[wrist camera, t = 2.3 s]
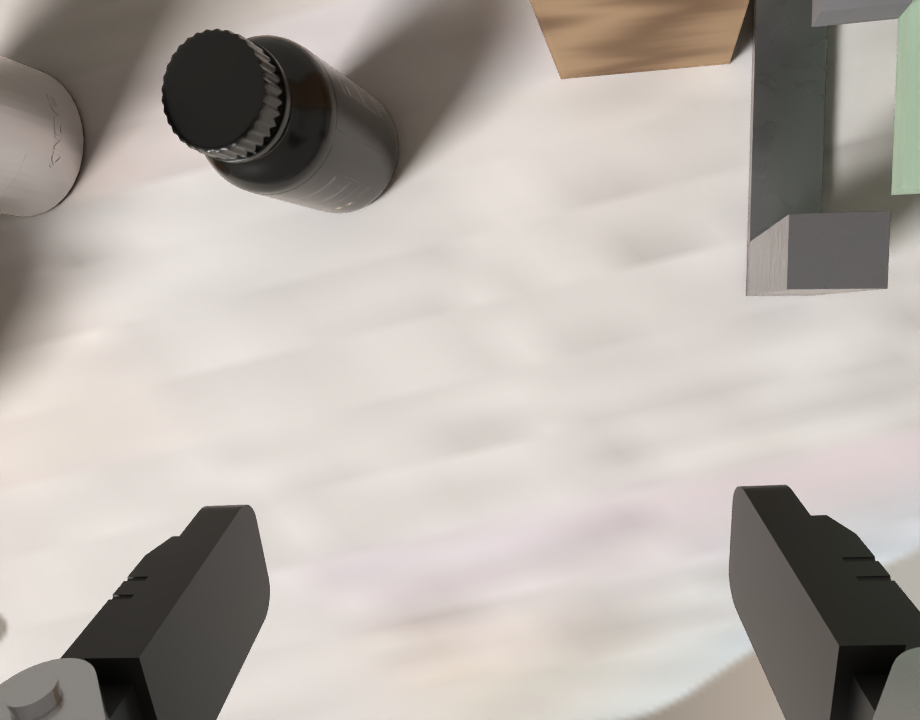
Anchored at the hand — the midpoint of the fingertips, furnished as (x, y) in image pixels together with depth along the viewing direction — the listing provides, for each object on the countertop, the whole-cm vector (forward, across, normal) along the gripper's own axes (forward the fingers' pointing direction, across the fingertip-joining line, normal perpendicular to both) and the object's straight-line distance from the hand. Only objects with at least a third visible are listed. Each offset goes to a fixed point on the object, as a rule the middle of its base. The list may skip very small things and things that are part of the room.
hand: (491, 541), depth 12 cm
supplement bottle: (+30, -9, +5) cm, 31 cm away
